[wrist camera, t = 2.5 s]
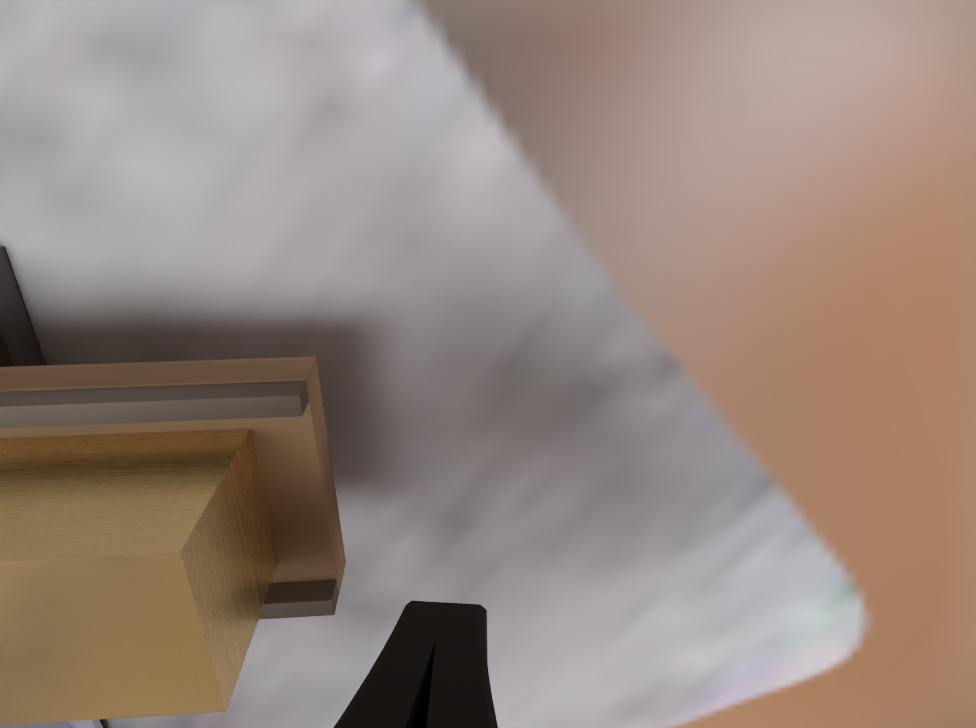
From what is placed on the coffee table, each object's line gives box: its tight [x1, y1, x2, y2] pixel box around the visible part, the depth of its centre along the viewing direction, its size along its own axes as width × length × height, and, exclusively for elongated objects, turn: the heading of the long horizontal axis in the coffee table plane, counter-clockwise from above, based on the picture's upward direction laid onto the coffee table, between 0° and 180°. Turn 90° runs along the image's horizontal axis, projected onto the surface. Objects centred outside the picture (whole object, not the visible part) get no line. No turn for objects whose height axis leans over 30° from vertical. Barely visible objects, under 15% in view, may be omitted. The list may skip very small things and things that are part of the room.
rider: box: [0, 428, 278, 726], centre depth 13 cm, size 4×6×4 cm, turn 91°
